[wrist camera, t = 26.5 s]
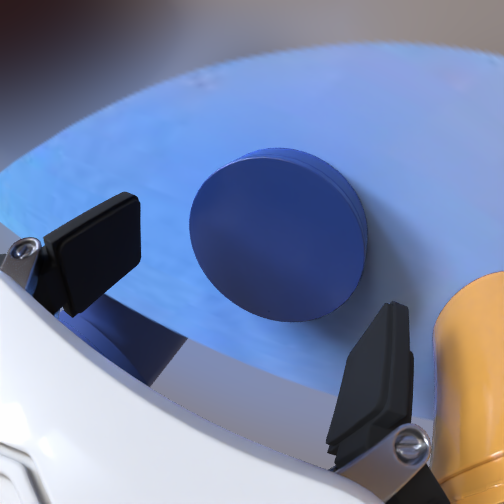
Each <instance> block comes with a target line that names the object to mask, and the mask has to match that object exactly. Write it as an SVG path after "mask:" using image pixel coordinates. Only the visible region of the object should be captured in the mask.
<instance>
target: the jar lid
mask: <svg viewBox="0 0 504 504" xmlns="http://www.w3.org/2000/svg"><path fill="white" fill-rule="evenodd" d="M189 231H190V239H191V243H192V247H193V251H194V253H195V256H196V259H197V261H198V263H199V265H200V267H201V268H202V270H203V272H204V273H205V275H206V276H207V278H208V279H209V280H210V281H211V283H212V284H213V285H214V286H215V287H216V288H217V289H218V290H219V291H220V292H221V293H222V294H223V295H224V296H225V297H226V298H228V299H229V300H230V301H232V302H233V303H234V304H236V305H238V306H239V307H241V308H242V309H244V310H246V311H248V312H250V313H252V314H255V315H257V316H260V317H263V318H267V319H270V320H275V321H281V322H303V321H309V320H313V319H317V318H320V317H323V316H325V315H327V314H329V313H331V312H333V311H334V310H336V309H338V308H339V307H340V306H341V305H342V304H344V303H345V302H346V301H347V300H348V298H349V297H350V296H351V295H352V294H353V292H354V290H355V289H356V287H357V286H358V283H359V281H360V279H361V276H362V273H363V269H364V264H365V256H366V247H367V235H368V231H367V221H366V217H365V213H364V209H363V207H362V204H361V202H360V200H359V198H358V196H357V194H356V192H355V191H354V189H353V188H352V186H351V185H350V184H349V183H348V181H347V180H346V179H345V178H344V177H343V176H342V175H341V174H340V173H339V172H338V171H337V170H336V169H334V168H333V167H332V166H330V165H329V164H328V163H326V162H325V161H323V160H321V159H319V158H317V157H316V156H313V155H311V154H308V153H306V152H302V151H298V150H294V149H287V148H268V149H262V150H257V151H254V152H252V153H249V154H246V155H244V156H242V157H241V158H239V159H237V160H235V161H233V162H231V163H229V164H227V165H225V166H223V167H221V168H220V169H218V170H217V171H216V172H214V173H213V174H212V175H211V176H210V177H209V178H208V179H207V180H206V181H205V182H204V183H203V185H202V186H201V187H200V189H199V190H198V192H197V194H196V196H195V199H194V201H193V204H192V208H191V212H190V219H189Z"/></svg>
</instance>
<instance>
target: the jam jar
mask: <svg viewBox="0 0 504 504" xmlns="http://www.w3.org/2000/svg"><path fill="white" fill-rule="evenodd" d="M433 355H434V422H433V437H432V449H431V458H430V466H429V468H430V470H431V471H432V473H433V475H434V476H435V478H436V479H437V481H438V483H439V484H440V486H441V488H442V489H443V491H444V492H445V494H446V496H447V497H448V499H449V501H450V503H451V504H504V271H501V272H495V273H491V274H488V275H485V276H483V277H481V278H478V279H476V280H474V281H473V282H471V283H469V284H468V285H466V286H465V287H463V288H462V289H461V290H460V291H459V292H457V293H456V294H455V295H454V296H453V297H452V298H451V299H450V300H449V301H448V303H447V304H446V305H445V306H444V308H443V309H442V311H441V312H440V314H439V316H438V318H437V320H436V323H435V326H434V330H433Z"/></svg>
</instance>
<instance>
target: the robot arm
mask: <svg viewBox="0 0 504 504" xmlns="http://www.w3.org/2000/svg"><path fill="white" fill-rule="evenodd" d="M43 239H44V243H45V246H43V247H42V246H41V242H40V241H39V240H38V239H37V238H33V237H28V238H23V239H20V240H18V241H17V242H15V243H14V244H13V245H12V246H11V247H10V249H9V250H8V252H7V254H0V504H451V503H450V501H449V499H448V497H447V496H446V494H445V492H444V491H443V489H442V488H441V486H440V484H439V483H438V481H437V479H436V478H435V476H434V475H433V473H432V471H431V470H430V468H429V467H428V466H427V464H426V462H427V461H428V459H429V457H430V454H431V442H430V438H429V436H428V435H427V433H426V431H424V430H423V429H422V428H421V427H420V426H418V425H416V424H411V416H412V402H413V377H414V357H413V353H412V352H411V351H410V338H409V310H408V307H406V306H404V305H402V304H399V303H397V302H395V301H392V302H391V303H390V304H388V303H385V304H384V305H383V306H382V308H381V310H380V311H379V313H378V314H377V315H376V317H375V318H374V320H373V321H372V323H371V324H370V326H369V327H368V329H367V330H366V331H365V333H364V334H363V336H362V337H361V338H360V340H359V341H358V343H357V344H356V345H355V347H354V348H353V349H352V351H351V352H350V354H349V356H348V358H347V361H346V366H345V370H344V375H343V379H342V383H341V387H340V392H339V395H338V399H337V404H336V407H335V411H334V414H333V418H332V422H331V425H330V429H329V432H328V435H327V439H326V444H328V445H329V449H328V452H327V453H329V454H332V455H336V458H335V464H336V465H335V466H333V467H332V468H330V469H329V470H326V469H324V468H321V467H318V466H315V465H312V464H310V463H307V462H305V461H302V460H299V459H296V458H294V457H291V456H288V455H286V454H283V453H280V452H278V451H275V450H273V449H270V448H268V447H265V446H263V445H261V444H258V443H256V442H254V441H251V440H249V439H247V438H245V437H242V436H240V435H238V434H236V433H233V432H231V431H229V430H227V429H225V428H223V427H221V426H218V425H216V424H214V423H212V422H210V421H208V420H206V419H204V418H203V417H200V416H199V415H197V414H195V413H193V412H191V411H189V410H187V409H185V408H184V407H182V406H180V405H178V404H177V403H175V402H173V401H171V400H170V399H168V398H166V397H165V396H163V395H161V394H160V393H158V392H156V391H155V390H153V389H151V388H150V387H148V386H147V385H145V384H143V383H142V382H140V381H139V380H137V379H136V378H134V377H133V376H131V375H130V374H128V373H127V372H125V371H124V370H122V369H121V368H119V367H118V366H117V365H115V364H114V363H112V362H111V361H109V360H108V359H107V358H105V357H104V356H103V355H101V354H100V353H99V352H97V351H96V350H95V349H93V348H92V347H91V346H89V345H88V344H87V343H85V342H84V341H83V340H82V339H80V338H79V337H78V336H77V335H75V334H74V333H73V332H72V331H71V330H69V329H68V328H67V327H66V326H65V325H63V324H62V323H61V322H60V321H59V320H58V318H59V312H60V308H62V307H63V308H64V311H65V312H66V313H67V314H69V315H70V316H71V317H72V318H73V317H74V316H76V315H77V314H78V313H82V312H83V311H84V310H86V309H87V308H88V307H89V306H90V305H91V304H92V303H93V302H95V301H96V300H97V299H98V298H99V297H100V296H101V295H103V294H104V293H105V292H106V291H107V290H108V289H110V288H111V287H112V286H113V285H114V284H115V283H117V282H118V281H119V280H120V279H121V278H123V277H124V276H125V275H126V274H127V273H129V272H130V271H131V270H132V269H133V268H135V267H136V266H137V265H138V264H139V262H140V260H141V232H140V202H139V200H138V197H137V196H135V195H133V194H130V193H128V192H122V193H120V194H118V195H116V196H114V197H112V198H110V199H108V200H106V201H104V202H103V203H101V204H99V205H97V206H95V207H93V208H92V209H90V210H88V211H86V212H84V213H83V214H81V215H79V216H77V217H76V218H74V219H72V220H71V221H69V222H67V223H66V224H64V225H62V226H61V227H59V228H57V229H56V230H54V231H52V232H51V233H49V234H48V235H46V236H44V237H43Z"/></svg>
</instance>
